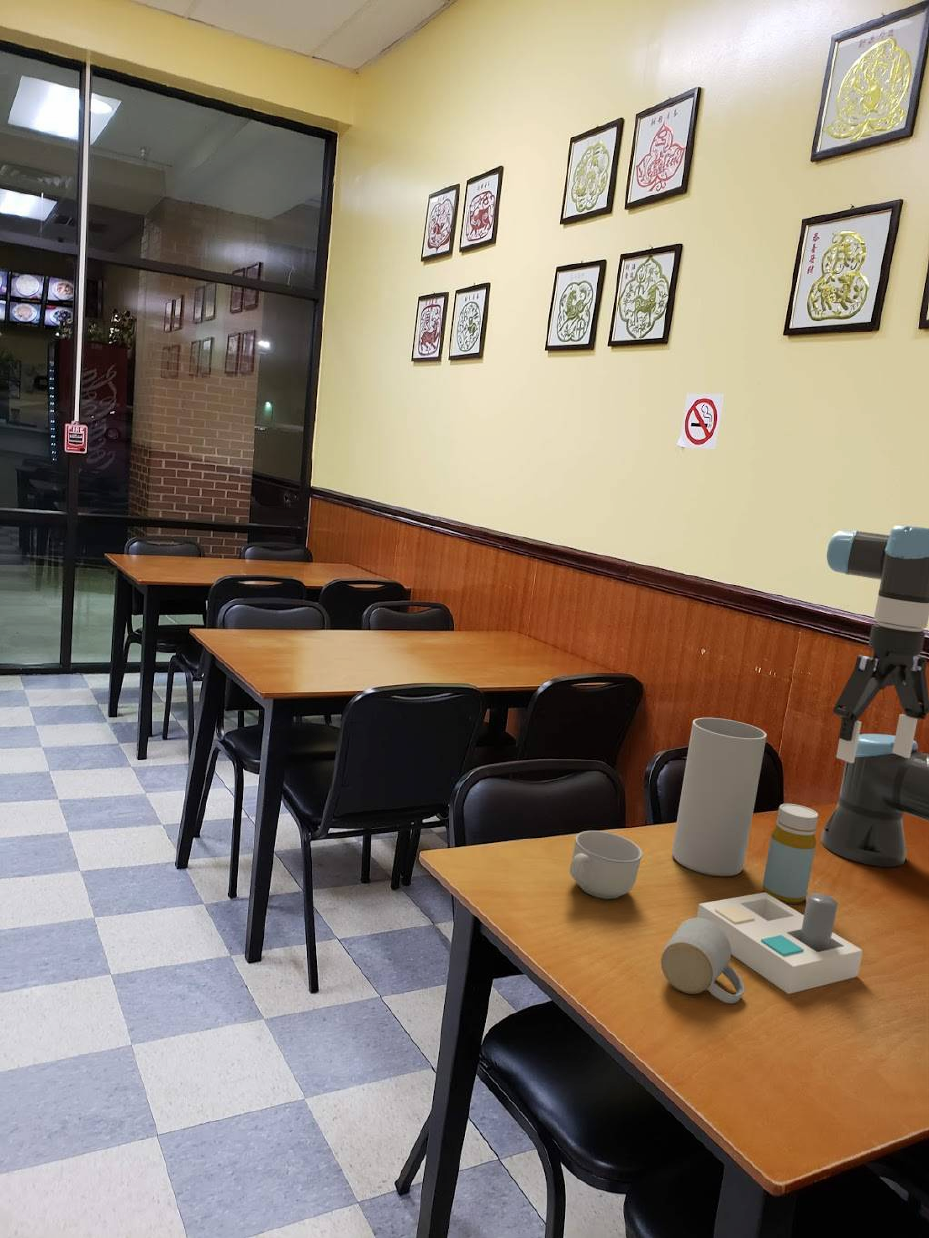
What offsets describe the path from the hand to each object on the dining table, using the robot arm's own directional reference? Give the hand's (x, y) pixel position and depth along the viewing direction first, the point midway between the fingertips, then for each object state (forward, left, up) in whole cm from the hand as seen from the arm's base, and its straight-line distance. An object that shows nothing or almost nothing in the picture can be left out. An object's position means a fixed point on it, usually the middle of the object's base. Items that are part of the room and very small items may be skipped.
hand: (873, 757), depth 144 cm
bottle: (+5, -8, -27) cm, 28 cm away
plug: (+19, +10, -27) cm, 34 cm away
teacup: (+37, -18, -27) cm, 49 cm away
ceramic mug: (+39, +9, -27) cm, 48 cm away
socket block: (+22, +5, -27) cm, 35 cm away
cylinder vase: (+9, -22, -27) cm, 36 cm away
